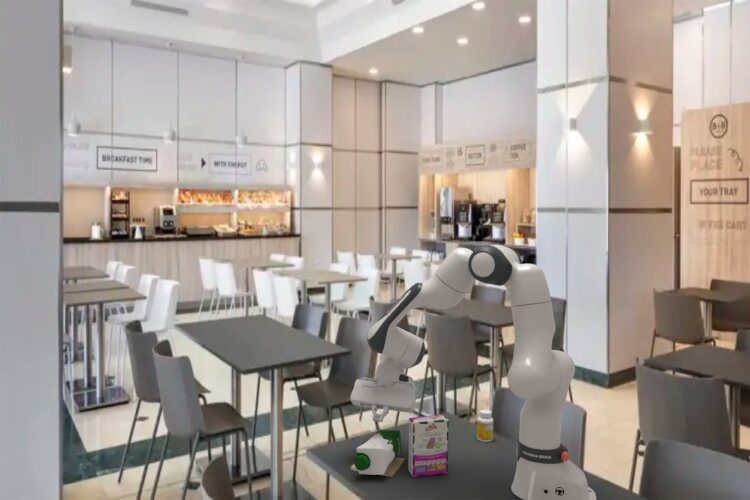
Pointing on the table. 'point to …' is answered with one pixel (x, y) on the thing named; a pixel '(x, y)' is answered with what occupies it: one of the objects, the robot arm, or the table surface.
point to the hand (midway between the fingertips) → (377, 420)
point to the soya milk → (378, 452)
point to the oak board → (390, 469)
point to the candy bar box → (428, 445)
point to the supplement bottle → (485, 426)
